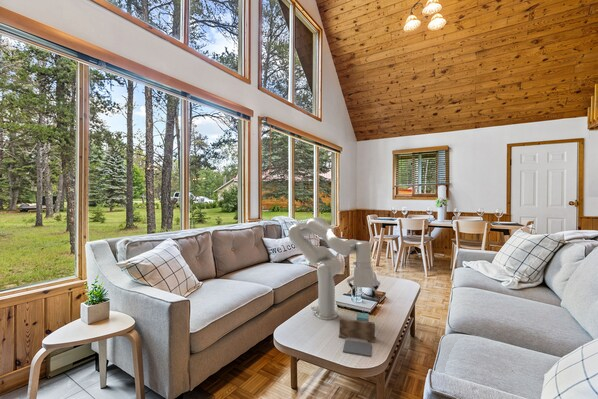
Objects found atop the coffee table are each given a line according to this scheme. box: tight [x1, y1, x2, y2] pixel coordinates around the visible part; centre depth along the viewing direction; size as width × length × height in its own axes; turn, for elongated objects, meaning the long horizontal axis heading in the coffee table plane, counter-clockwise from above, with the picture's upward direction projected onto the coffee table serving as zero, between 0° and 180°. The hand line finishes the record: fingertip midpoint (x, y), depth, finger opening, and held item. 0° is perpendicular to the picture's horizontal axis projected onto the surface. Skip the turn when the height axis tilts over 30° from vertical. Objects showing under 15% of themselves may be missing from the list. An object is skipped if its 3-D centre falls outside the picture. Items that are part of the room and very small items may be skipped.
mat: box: [342, 339, 372, 357], centre depth 127 cm, size 12×10×1 cm
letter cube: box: [355, 311, 370, 322], centre depth 148 cm, size 6×6×6 cm
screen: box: [338, 317, 376, 344], centre depth 137 cm, size 17×6×8 cm, turn 74°
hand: (363, 296), depth 147 cm, fingers open, 9 cm apart
